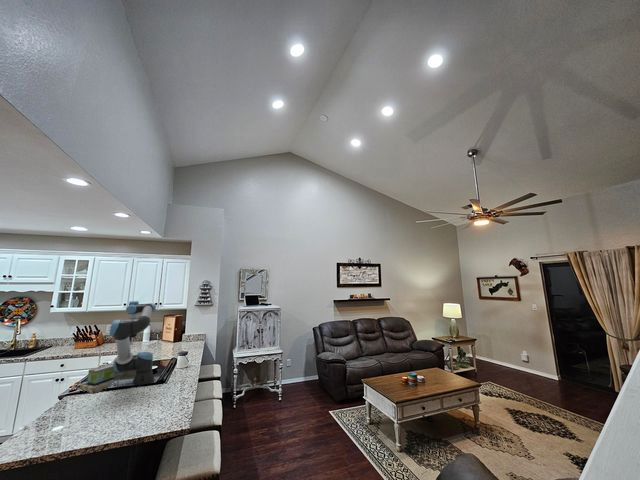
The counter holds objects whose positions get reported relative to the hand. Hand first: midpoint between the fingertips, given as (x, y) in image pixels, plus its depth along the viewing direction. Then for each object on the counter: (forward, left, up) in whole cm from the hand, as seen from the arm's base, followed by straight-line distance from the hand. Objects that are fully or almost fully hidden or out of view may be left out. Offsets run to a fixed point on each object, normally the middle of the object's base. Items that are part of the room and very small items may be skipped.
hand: (131, 344), depth 250 cm
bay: (-4, +29, -27) cm, 40 cm away
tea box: (-2, +24, -27) cm, 36 cm away
